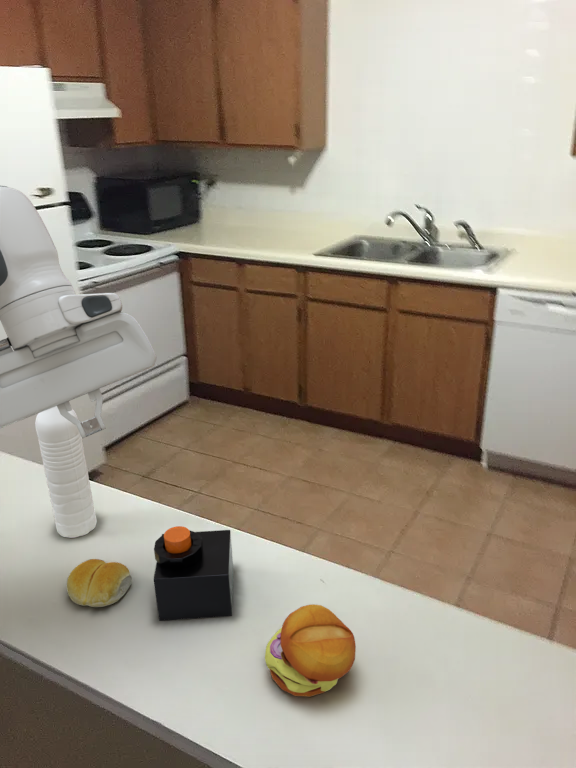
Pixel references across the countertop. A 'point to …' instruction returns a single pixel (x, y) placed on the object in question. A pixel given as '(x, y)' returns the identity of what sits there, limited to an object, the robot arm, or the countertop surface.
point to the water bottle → (66, 473)
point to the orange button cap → (177, 539)
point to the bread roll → (98, 583)
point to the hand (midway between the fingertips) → (94, 433)
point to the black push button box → (195, 577)
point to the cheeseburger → (310, 651)
